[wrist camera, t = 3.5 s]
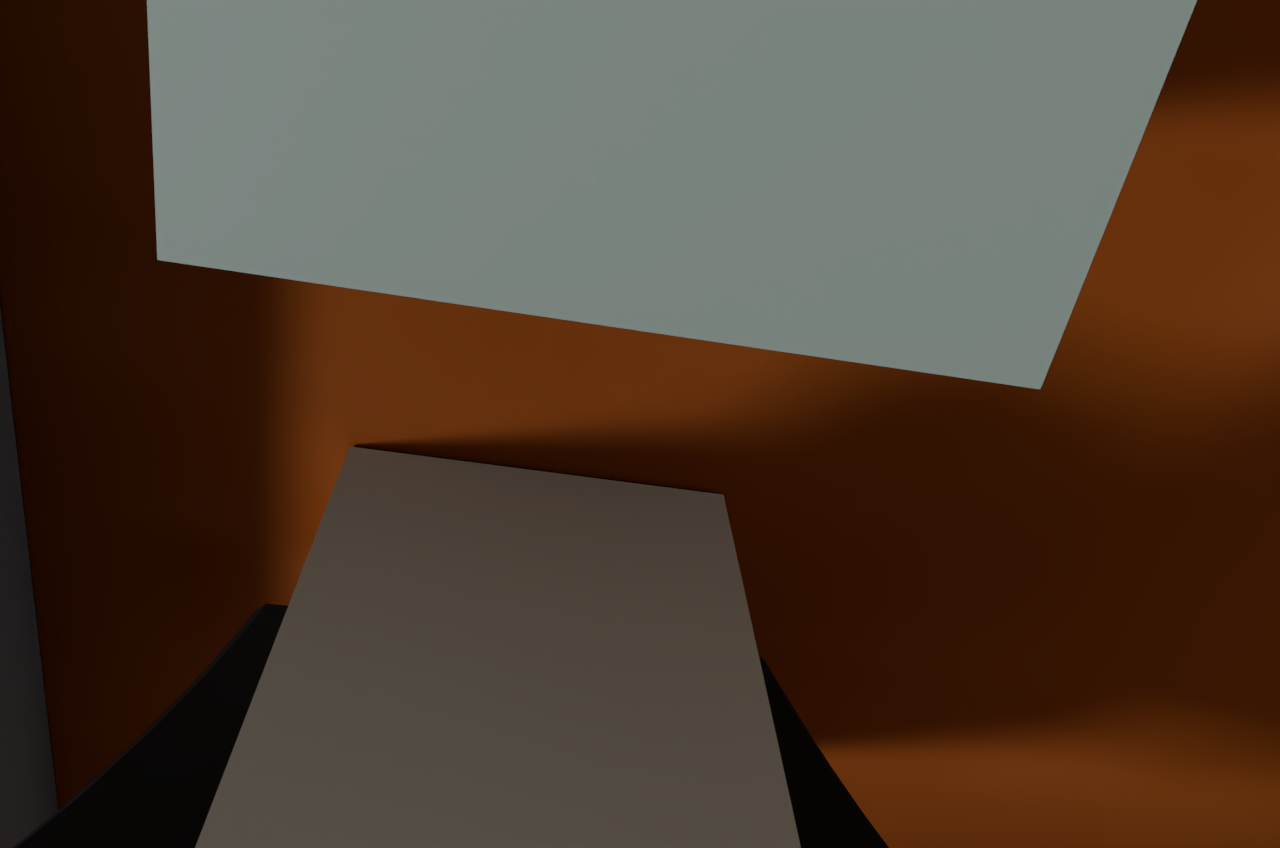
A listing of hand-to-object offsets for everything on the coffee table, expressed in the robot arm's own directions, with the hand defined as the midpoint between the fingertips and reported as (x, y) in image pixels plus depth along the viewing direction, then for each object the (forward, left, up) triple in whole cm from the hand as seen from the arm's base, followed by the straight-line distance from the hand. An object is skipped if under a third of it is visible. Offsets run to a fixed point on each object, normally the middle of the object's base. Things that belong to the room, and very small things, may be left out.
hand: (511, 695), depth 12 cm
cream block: (0, 0, -1) cm, 1 cm away
